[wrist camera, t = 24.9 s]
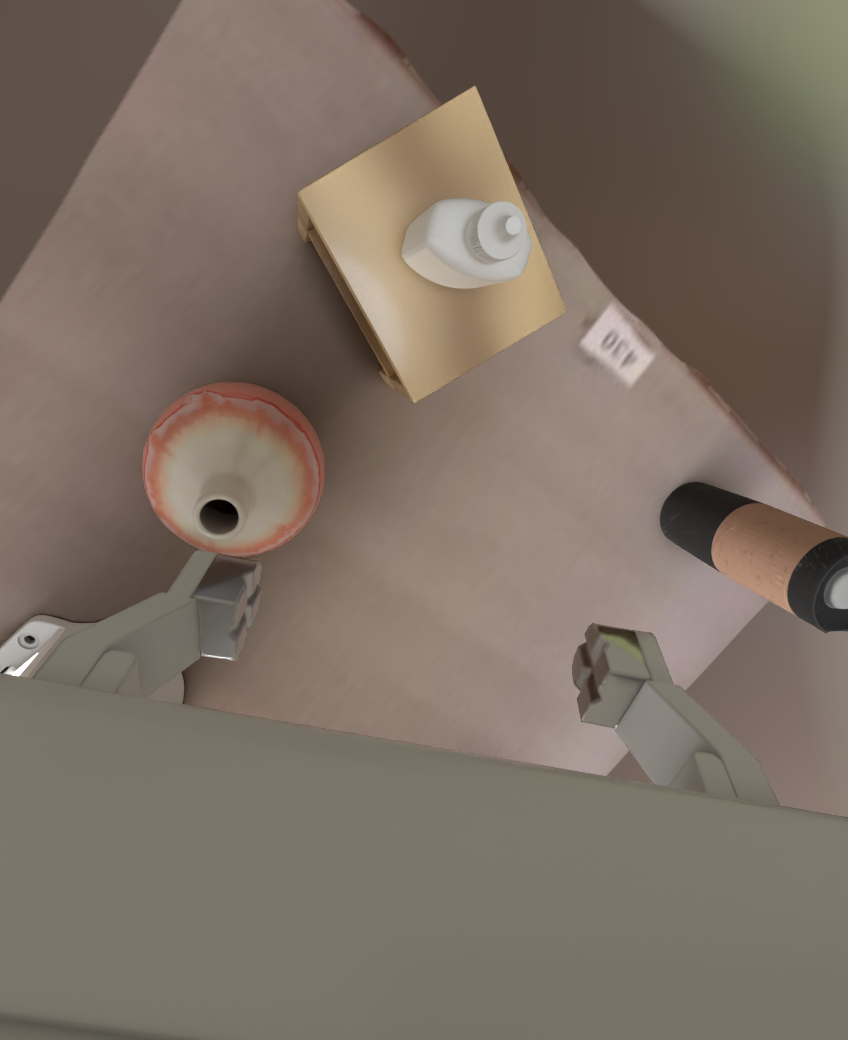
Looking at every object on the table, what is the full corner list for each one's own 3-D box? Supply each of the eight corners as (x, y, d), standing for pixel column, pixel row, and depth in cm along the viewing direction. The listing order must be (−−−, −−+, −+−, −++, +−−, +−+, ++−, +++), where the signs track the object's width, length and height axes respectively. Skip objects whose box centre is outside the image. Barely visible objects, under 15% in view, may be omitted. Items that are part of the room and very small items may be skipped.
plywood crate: (384, 383, 51) (415, 403, 38) (297, 229, 45) (297, 191, 33) (498, 314, 51) (567, 311, 38) (424, 152, 46) (475, 84, 33)
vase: (240, 340, 47) (210, 349, 31) (353, 456, 52) (379, 516, 36) (125, 452, 48) (38, 518, 32) (248, 555, 53) (226, 658, 37)
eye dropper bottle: (450, 316, 37) (517, 313, 25) (389, 245, 34) (433, 209, 23) (498, 266, 36) (588, 241, 25) (439, 191, 34) (509, 128, 23)
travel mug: (699, 464, 60) (876, 527, 42) (731, 513, 63) (910, 590, 45) (645, 513, 61) (796, 595, 42) (678, 558, 64) (834, 654, 45)
